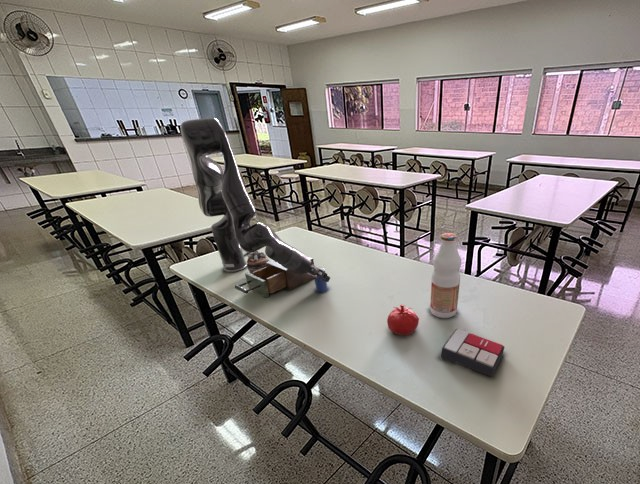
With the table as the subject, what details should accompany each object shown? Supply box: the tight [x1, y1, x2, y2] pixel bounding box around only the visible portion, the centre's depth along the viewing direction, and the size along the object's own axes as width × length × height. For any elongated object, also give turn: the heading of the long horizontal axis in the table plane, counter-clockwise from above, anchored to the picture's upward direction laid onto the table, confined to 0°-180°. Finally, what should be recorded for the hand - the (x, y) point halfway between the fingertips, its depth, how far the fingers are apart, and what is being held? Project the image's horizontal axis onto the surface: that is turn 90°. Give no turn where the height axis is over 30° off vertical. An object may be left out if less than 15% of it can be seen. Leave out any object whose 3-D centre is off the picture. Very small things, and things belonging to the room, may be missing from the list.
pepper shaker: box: [313, 266, 329, 293], centre depth 124 cm, size 4×4×9 cm
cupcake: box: [246, 250, 270, 275], centre depth 135 cm, size 10×10×10 cm
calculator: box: [440, 328, 505, 377], centre depth 91 cm, size 11×4×15 cm
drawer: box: [233, 266, 287, 299], centre depth 122 cm, size 19×12×7 cm, turn 144°
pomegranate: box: [386, 304, 420, 336], centre depth 101 cm, size 10×10×9 cm
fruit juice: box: [429, 232, 462, 319], centre depth 105 cm, size 9×9×28 cm
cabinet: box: [266, 256, 315, 291], centre depth 132 cm, size 14×13×9 cm
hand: (324, 277), depth 125 cm, fingers closed on pepper shaker, 4 cm apart
